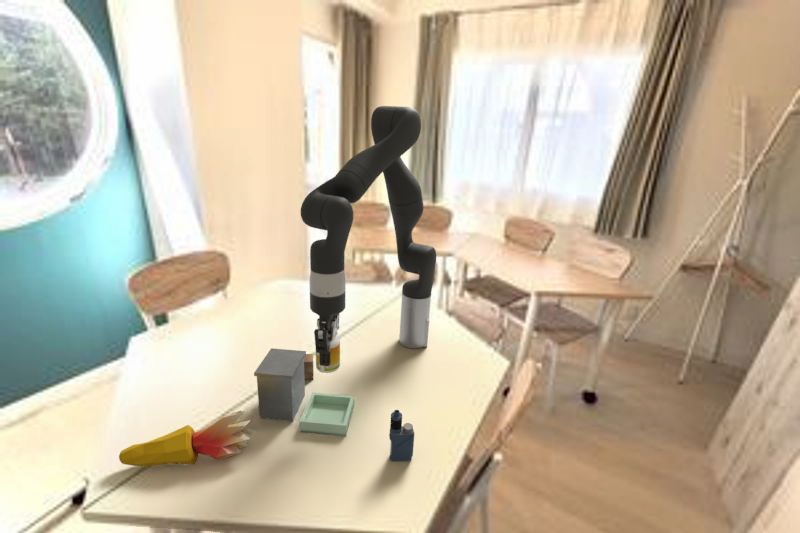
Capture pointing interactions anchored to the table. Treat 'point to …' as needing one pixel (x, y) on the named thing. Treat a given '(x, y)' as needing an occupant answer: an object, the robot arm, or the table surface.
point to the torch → (191, 444)
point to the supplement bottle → (331, 356)
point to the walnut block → (308, 367)
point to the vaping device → (400, 438)
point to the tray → (327, 414)
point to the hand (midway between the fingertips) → (328, 357)
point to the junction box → (281, 384)
